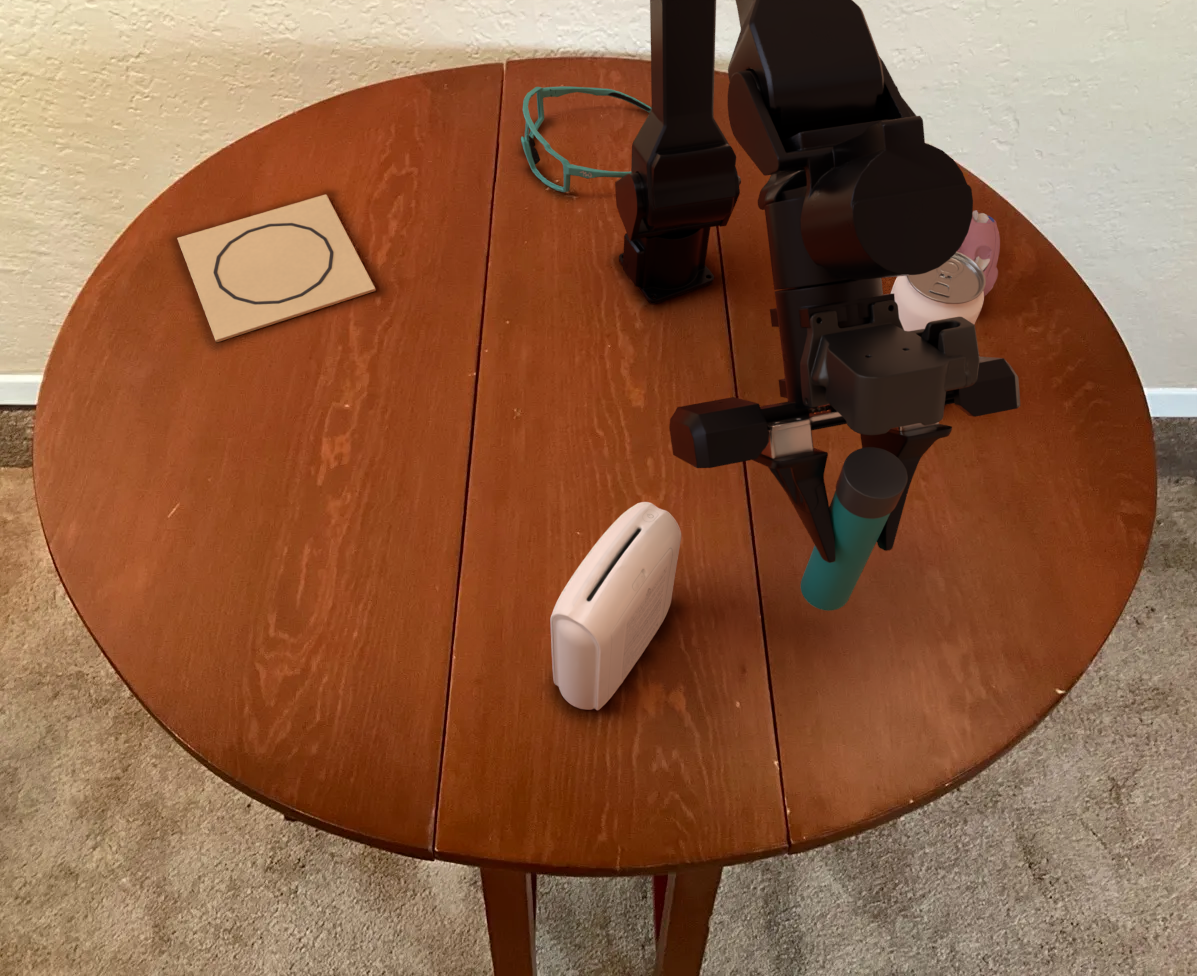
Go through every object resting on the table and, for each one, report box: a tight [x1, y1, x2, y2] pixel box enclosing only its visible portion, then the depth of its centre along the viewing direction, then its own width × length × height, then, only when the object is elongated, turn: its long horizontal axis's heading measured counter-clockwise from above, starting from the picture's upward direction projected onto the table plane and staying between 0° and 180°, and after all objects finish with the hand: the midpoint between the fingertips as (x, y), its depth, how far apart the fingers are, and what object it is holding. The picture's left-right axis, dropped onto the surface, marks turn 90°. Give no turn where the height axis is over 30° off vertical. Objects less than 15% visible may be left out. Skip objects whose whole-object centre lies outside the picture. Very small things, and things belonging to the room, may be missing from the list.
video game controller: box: [957, 209, 1001, 297], centre depth 84 cm, size 10×5×7 cm, turn 168°
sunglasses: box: [520, 85, 652, 193], centre depth 94 cm, size 14×15×5 cm
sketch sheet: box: [176, 193, 377, 343], centre depth 86 cm, size 14×14×1 cm
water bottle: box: [800, 447, 907, 612], centre depth 57 cm, size 3×3×13 cm
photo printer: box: [549, 501, 682, 711], centre depth 60 cm, size 10×4×12 cm, turn 147°
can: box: [889, 252, 986, 331], centre depth 74 cm, size 6×6×12 cm
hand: (856, 555), depth 56 cm, fingers closed on water bottle, 3 cm apart
